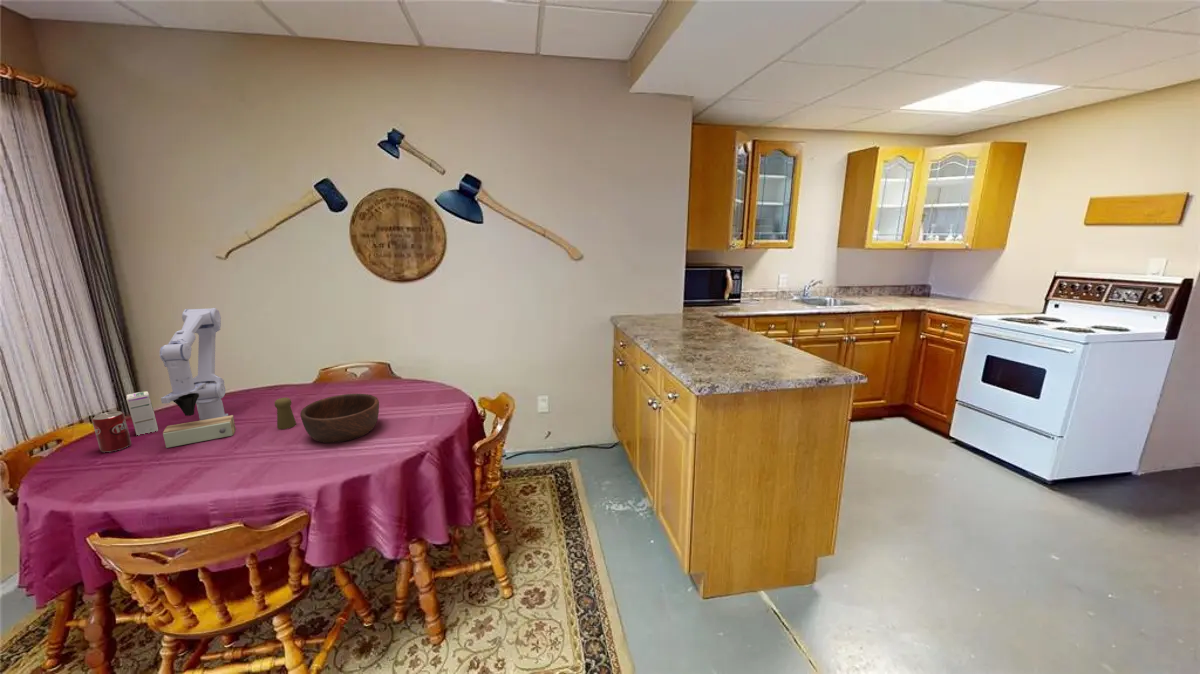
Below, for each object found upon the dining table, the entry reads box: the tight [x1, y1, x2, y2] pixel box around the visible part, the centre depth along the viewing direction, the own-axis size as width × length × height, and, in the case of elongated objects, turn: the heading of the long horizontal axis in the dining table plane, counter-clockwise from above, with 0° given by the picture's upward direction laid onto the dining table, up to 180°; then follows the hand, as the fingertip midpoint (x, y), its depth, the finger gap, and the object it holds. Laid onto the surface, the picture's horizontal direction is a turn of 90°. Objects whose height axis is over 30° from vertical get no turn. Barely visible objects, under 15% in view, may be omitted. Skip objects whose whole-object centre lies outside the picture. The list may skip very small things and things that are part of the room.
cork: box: [274, 397, 297, 430], centre depth 168 cm, size 6×6×11 cm
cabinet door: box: [162, 422, 234, 449], centre depth 155 cm, size 2×18×5 cm, turn 124°
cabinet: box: [162, 414, 237, 436], centre depth 159 cm, size 6×18×6 cm, turn 123°
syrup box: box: [126, 390, 159, 436], centre depth 162 cm, size 6×6×14 cm
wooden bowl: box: [300, 393, 380, 444], centre depth 165 cm, size 25×25×10 cm
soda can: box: [91, 411, 132, 453], centre depth 150 cm, size 7×7×12 cm
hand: (189, 414), depth 156 cm, fingers closed
